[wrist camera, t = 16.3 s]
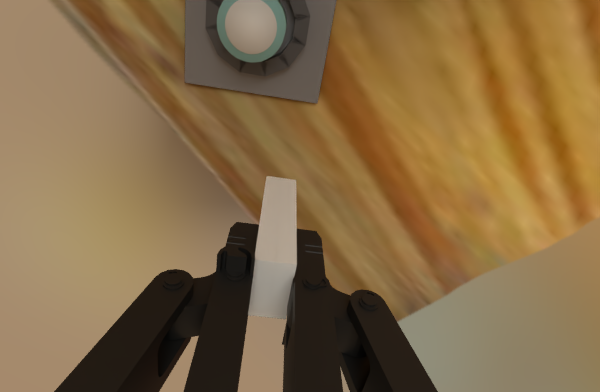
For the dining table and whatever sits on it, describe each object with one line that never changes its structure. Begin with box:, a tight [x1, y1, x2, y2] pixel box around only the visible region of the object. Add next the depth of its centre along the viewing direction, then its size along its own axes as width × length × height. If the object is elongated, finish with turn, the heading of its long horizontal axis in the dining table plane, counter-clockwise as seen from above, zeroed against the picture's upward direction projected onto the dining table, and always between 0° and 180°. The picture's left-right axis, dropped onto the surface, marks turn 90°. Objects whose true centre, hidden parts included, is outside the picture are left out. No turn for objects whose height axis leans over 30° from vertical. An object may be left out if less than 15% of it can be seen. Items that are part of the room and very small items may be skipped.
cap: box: [217, 0, 287, 62], centre depth 37 cm, size 6×6×7 cm
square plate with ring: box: [185, 0, 336, 103], centre depth 40 cm, size 16×16×3 cm
